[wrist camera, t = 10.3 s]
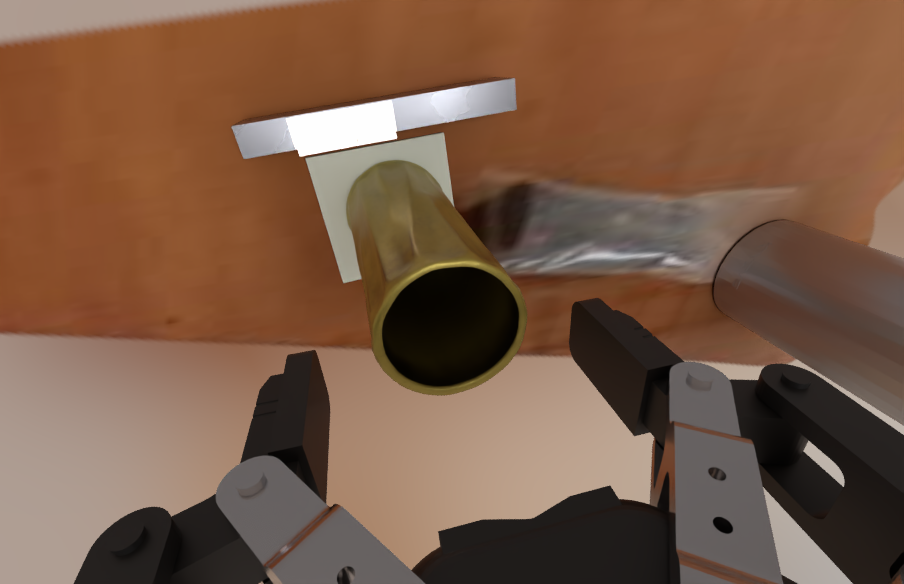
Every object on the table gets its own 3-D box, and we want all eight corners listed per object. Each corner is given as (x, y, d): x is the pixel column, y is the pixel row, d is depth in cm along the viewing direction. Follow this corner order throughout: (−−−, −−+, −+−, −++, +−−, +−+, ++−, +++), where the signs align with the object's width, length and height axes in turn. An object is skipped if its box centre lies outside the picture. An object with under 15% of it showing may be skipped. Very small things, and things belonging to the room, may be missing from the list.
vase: (376, 138, 24) (422, 207, 11) (463, 192, 26) (576, 294, 14) (328, 229, 25) (321, 375, 13) (414, 271, 28) (476, 425, 16)
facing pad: (442, 132, 25) (443, 132, 24) (459, 254, 28) (460, 256, 28) (305, 157, 23) (305, 158, 23) (343, 281, 27) (343, 283, 27)
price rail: (495, 77, 24) (517, 78, 21) (498, 112, 25) (518, 118, 22) (243, 119, 22) (229, 127, 19) (256, 156, 23) (245, 168, 20)
